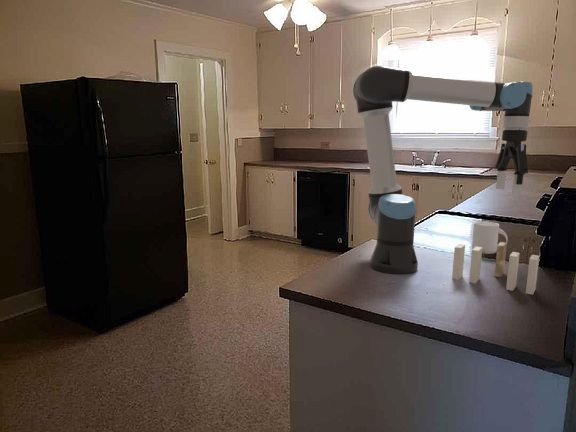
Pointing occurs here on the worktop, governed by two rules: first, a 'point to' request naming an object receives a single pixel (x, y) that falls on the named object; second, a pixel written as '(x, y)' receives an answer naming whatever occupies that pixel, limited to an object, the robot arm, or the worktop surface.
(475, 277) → the tile
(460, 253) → the tile
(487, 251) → the mug
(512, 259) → the tile
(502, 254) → the tile
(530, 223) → the worktop surface
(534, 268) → the tile
